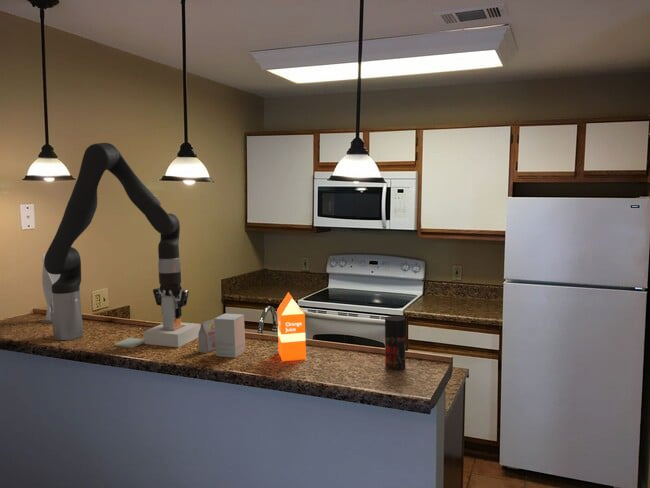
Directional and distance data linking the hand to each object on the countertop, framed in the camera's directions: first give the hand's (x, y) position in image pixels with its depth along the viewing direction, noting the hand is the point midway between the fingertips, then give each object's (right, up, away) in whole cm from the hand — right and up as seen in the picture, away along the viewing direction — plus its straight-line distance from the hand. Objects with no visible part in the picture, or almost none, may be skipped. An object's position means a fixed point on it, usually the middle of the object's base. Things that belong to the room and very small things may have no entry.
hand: (172, 317), depth 193 cm
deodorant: (+76, -11, -32) cm, 83 cm away
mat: (-14, -9, -2) cm, 17 cm away
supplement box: (+24, -10, -16) cm, 30 cm away
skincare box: (0, -4, 0) cm, 4 cm away
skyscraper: (-58, -6, +32) cm, 66 cm away
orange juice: (+44, -10, -19) cm, 49 cm away
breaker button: (0, -8, +1) cm, 8 cm away
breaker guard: (0, -8, +1) cm, 8 cm away
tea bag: (+16, -10, -11) cm, 22 cm away
